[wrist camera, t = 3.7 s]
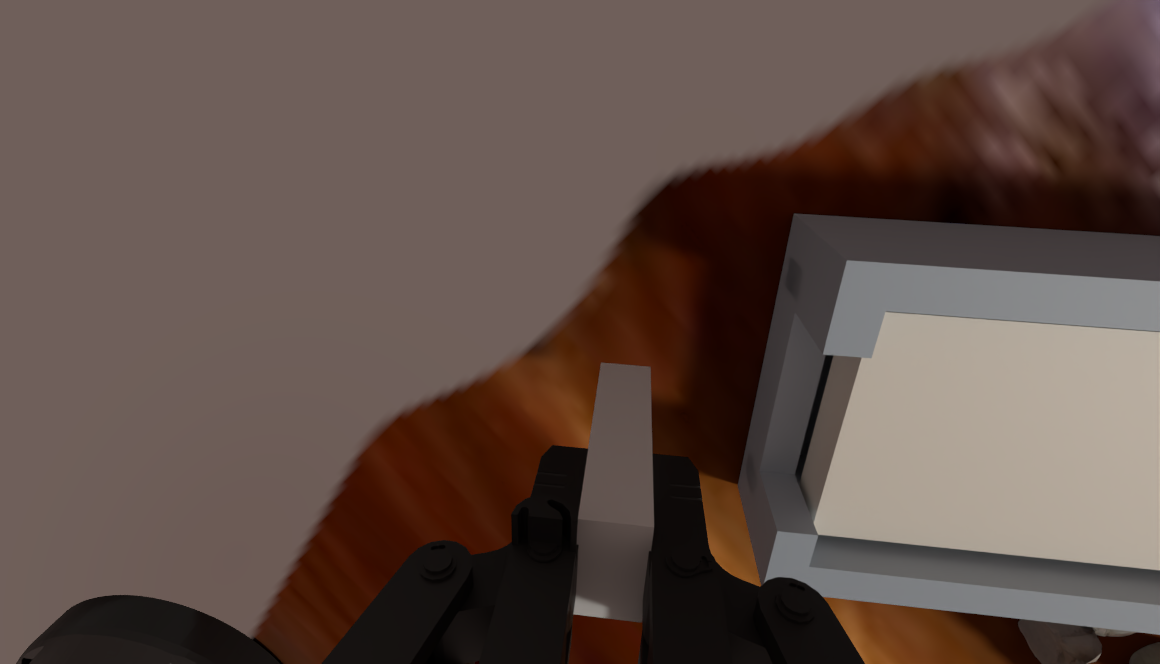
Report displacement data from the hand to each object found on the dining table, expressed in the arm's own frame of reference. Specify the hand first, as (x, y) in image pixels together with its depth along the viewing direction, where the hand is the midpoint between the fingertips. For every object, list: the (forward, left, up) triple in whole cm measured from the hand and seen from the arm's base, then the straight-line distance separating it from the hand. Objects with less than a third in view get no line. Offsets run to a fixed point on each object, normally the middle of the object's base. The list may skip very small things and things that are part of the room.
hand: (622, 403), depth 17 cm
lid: (+14, 0, -1) cm, 14 cm away
